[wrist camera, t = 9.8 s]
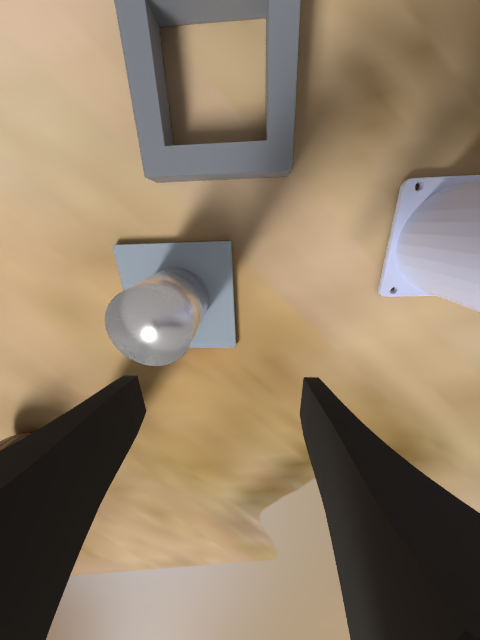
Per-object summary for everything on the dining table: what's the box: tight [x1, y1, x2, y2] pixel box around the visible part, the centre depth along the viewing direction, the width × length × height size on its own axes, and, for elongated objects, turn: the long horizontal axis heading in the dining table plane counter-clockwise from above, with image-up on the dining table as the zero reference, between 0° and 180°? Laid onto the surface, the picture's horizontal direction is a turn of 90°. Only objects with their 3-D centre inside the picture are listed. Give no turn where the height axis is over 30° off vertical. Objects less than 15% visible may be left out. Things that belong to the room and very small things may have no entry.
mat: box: [112, 241, 236, 348], centre depth 19 cm, size 9×9×1 cm
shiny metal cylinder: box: [105, 267, 209, 366], centre depth 16 cm, size 5×5×6 cm
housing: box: [114, 0, 300, 183], centre depth 13 cm, size 9×9×2 cm
